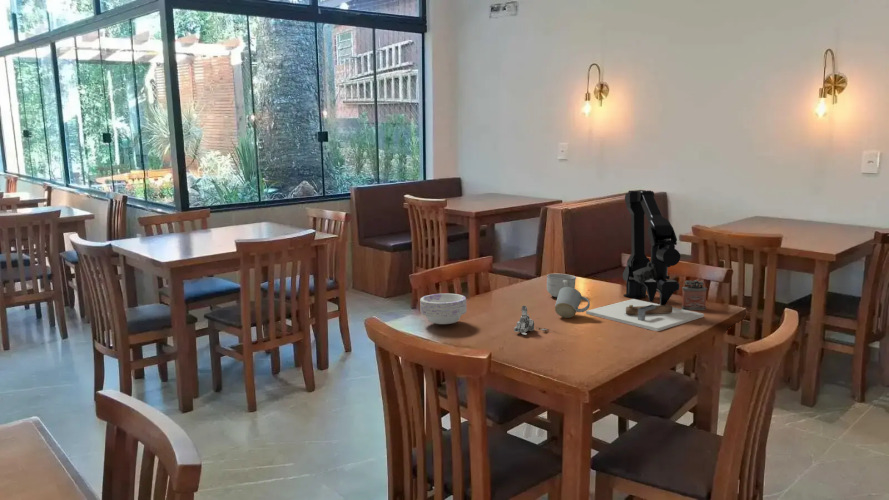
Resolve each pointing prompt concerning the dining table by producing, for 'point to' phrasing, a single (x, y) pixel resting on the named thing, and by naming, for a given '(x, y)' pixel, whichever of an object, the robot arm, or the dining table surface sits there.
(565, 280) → the teacup
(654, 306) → the keeper
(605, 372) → the dining table surface
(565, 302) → the ceramic mug
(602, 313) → the pivot board
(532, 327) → the grey irregular piece
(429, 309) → the white speckled bowl
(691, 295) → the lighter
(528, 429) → the salt and pepper shakers
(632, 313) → the link
